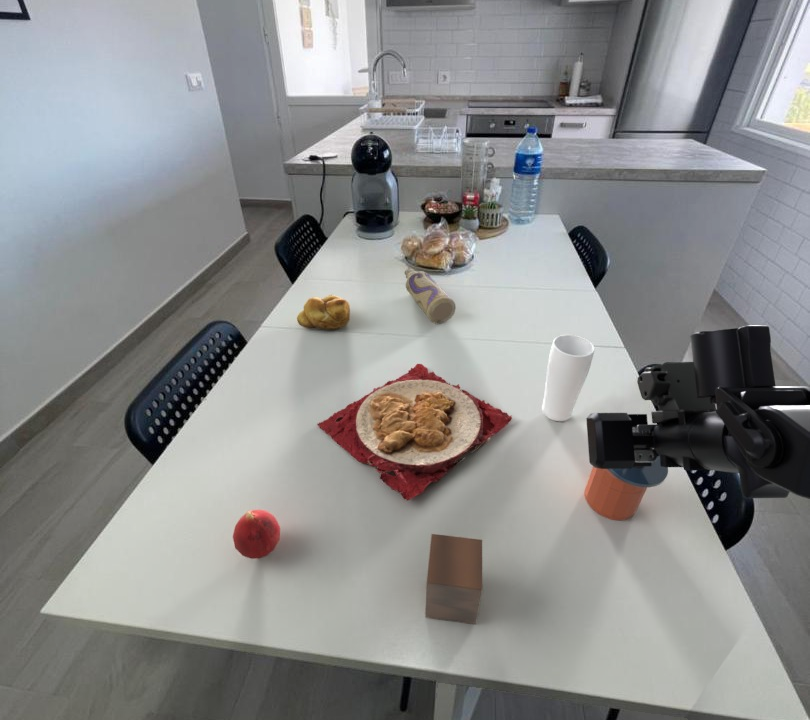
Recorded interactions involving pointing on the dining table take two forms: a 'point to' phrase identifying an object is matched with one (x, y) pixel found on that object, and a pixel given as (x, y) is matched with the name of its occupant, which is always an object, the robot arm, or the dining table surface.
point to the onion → (256, 534)
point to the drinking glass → (566, 375)
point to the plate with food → (414, 429)
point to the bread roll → (325, 313)
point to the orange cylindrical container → (612, 495)
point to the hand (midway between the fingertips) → (636, 439)
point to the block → (454, 579)
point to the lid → (642, 474)
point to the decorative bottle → (429, 296)
